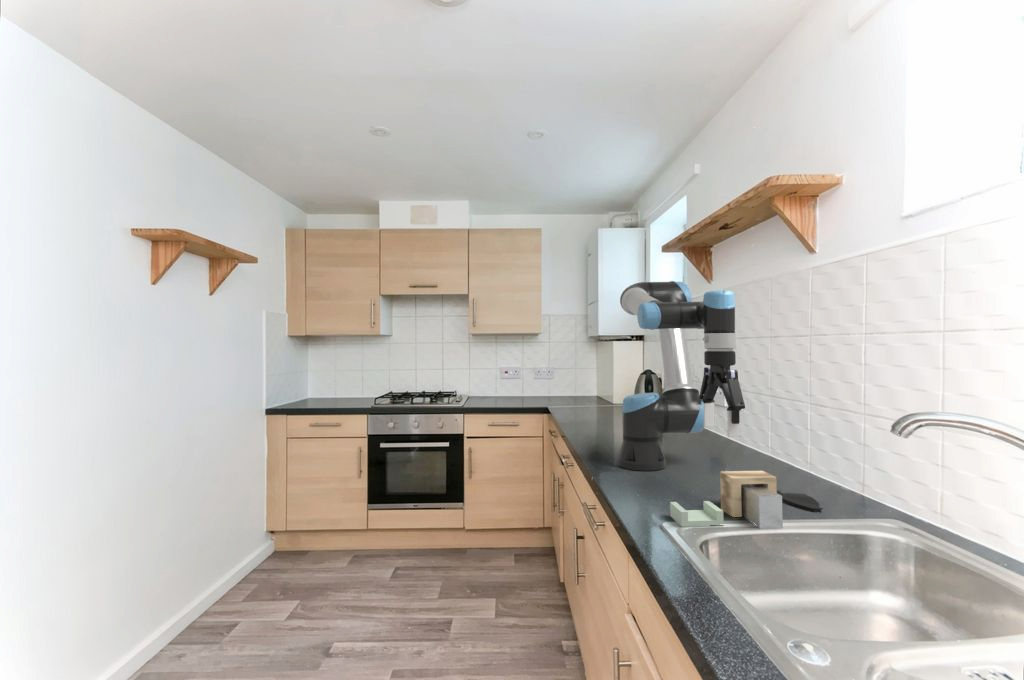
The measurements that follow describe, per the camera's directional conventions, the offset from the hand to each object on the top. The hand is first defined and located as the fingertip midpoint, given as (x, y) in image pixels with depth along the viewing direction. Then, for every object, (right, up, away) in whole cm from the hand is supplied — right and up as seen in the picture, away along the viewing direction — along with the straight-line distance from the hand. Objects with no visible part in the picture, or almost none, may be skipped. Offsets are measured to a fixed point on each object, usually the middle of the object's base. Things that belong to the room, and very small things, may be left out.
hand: (720, 431), depth 129 cm
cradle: (-13, -16, -18) cm, 28 cm away
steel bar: (+1, -17, -15) cm, 22 cm away
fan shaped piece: (+16, -17, -6) cm, 24 cm away
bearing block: (+1, -16, -14) cm, 21 cm away
